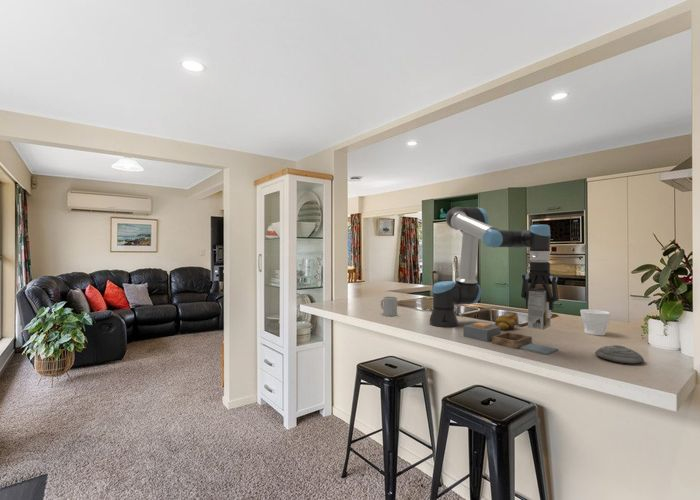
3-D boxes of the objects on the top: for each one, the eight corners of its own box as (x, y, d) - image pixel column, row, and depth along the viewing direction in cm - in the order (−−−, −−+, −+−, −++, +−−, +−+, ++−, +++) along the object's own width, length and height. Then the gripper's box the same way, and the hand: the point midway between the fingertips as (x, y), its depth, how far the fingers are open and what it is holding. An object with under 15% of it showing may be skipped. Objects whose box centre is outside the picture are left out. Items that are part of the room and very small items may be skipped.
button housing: (463, 336, 171) (463, 325, 171) (477, 332, 179) (477, 322, 179) (486, 341, 162) (487, 330, 162) (500, 337, 170) (500, 326, 169)
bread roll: (508, 332, 180) (508, 316, 180) (489, 328, 187) (489, 313, 187) (518, 328, 189) (519, 313, 189) (500, 325, 196) (500, 310, 196)
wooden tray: (491, 343, 159) (492, 336, 159) (507, 338, 168) (507, 331, 168) (516, 348, 150) (516, 341, 150) (531, 343, 159) (531, 336, 159)
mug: (399, 315, 222) (400, 297, 222) (390, 317, 216) (390, 298, 216) (385, 312, 231) (385, 295, 231) (376, 314, 225) (376, 296, 225)
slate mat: (519, 348, 151) (519, 347, 151) (531, 344, 158) (531, 342, 158) (546, 354, 142) (546, 353, 142) (558, 349, 149) (558, 348, 149)
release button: (472, 333, 171) (472, 323, 171) (479, 332, 175) (479, 321, 175) (484, 336, 166) (484, 325, 166) (491, 334, 170) (491, 324, 170)
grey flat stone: (591, 352, 147) (591, 338, 147) (635, 356, 142) (636, 342, 142) (600, 363, 134) (600, 348, 134) (650, 368, 128) (650, 353, 128)
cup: (575, 329, 186) (576, 308, 186) (602, 331, 183) (603, 309, 183) (586, 335, 174) (586, 313, 173) (615, 337, 171) (615, 314, 171)
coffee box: (534, 324, 155) (535, 287, 155) (551, 326, 151) (551, 288, 151) (527, 327, 149) (527, 288, 149) (543, 330, 144) (544, 290, 144)
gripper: (512, 260, 155) (511, 313, 155) (561, 262, 140) (561, 321, 140) (520, 260, 160) (520, 312, 160) (569, 262, 144) (568, 319, 145)
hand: (539, 316), depth 150 cm, fingers closed on coffee box, 7 cm apart
